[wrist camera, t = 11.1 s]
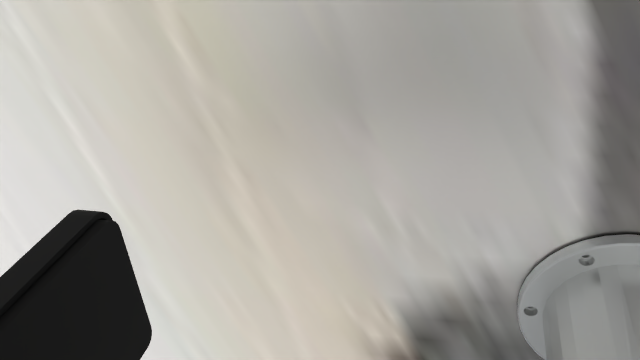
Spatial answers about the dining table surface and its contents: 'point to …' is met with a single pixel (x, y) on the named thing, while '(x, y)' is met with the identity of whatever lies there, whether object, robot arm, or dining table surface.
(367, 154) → the dining table surface
